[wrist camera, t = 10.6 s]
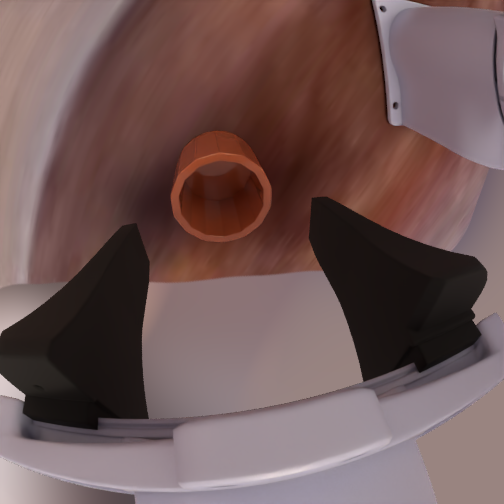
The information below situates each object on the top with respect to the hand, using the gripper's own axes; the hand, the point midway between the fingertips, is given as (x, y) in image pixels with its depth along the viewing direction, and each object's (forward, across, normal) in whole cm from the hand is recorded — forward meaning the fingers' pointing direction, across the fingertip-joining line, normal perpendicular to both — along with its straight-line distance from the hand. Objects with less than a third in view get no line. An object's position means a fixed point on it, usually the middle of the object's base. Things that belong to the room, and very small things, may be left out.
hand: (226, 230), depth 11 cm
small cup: (+7, 0, 0) cm, 7 cm away
